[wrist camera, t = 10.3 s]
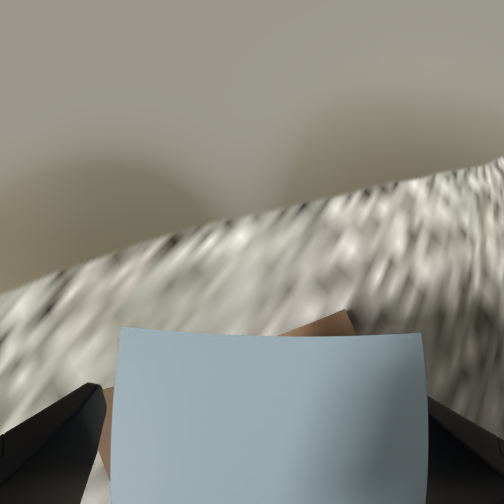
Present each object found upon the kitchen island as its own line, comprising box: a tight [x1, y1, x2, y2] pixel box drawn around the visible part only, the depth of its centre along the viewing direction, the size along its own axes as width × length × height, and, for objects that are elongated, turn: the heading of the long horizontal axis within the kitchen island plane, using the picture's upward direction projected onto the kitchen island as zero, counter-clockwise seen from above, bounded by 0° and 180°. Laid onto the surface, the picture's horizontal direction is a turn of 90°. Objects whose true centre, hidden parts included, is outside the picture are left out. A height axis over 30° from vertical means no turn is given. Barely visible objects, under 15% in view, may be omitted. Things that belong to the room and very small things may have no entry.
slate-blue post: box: [110, 326, 428, 504], centre depth 9 cm, size 5×5×12 cm
